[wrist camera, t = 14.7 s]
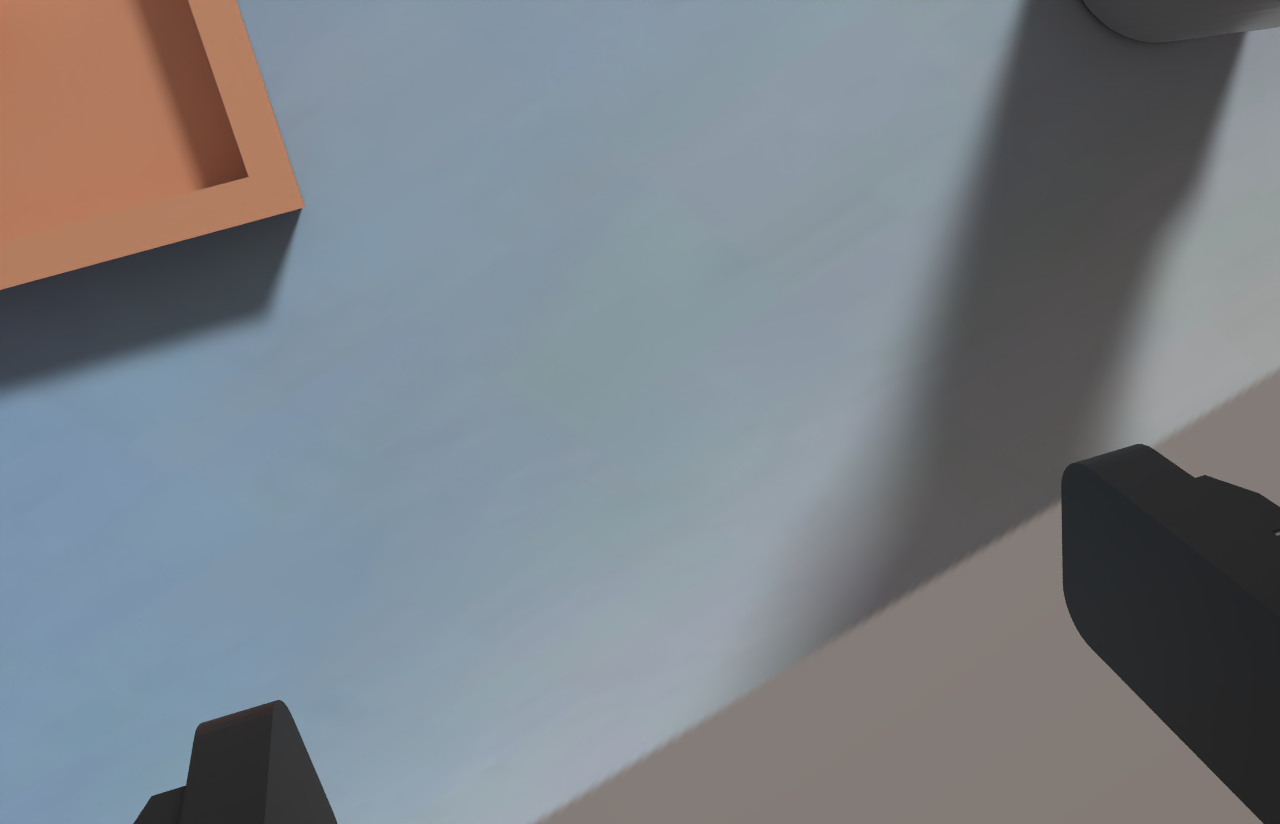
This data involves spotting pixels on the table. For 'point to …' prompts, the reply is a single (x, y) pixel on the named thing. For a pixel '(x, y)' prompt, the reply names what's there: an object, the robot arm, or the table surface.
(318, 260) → the table surface
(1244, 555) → the robot arm
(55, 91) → the dish
